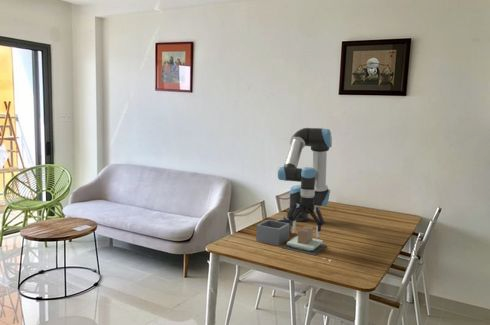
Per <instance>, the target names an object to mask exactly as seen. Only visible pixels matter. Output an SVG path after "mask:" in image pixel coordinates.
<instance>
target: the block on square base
mask: <svg viewBox="0 0 490 325" xmlns="http://www.w3.org/2000/svg"><path fill="white" fill-rule="evenodd" d="M313 231H314V227H311V226H306V225H305V226H302V227H301V228H299V229H298V230H297V235H296V236H294V237H293V238H291V239H290V240H289V241H288V240H287V242H286V245H291V247H293V248H298V249H303V250H307V251H312V250H314V249H315V248H317V247H318V246H319V245H320V244H324V243H323V242H324V240H322V239H318V238H315V237H314V238H313V233H314V232H313Z"/></svg>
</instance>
